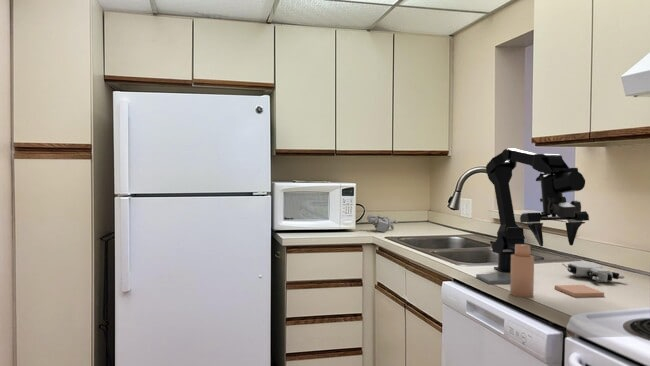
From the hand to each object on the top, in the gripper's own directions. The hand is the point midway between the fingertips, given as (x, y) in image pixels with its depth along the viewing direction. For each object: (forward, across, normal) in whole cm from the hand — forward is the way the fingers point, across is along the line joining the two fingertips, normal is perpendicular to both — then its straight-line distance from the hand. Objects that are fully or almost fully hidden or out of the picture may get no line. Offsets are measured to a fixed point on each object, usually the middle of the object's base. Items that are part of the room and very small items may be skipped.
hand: (556, 245), depth 140 cm
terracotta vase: (+13, -15, -7) cm, 21 cm away
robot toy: (+12, +18, +12) cm, 25 cm away
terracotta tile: (+13, +3, -5) cm, 14 cm away
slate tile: (+11, -15, +10) cm, 21 cm away
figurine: (-7, -30, +126) cm, 130 cm away
